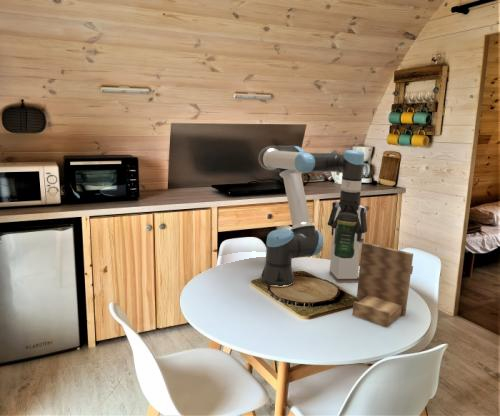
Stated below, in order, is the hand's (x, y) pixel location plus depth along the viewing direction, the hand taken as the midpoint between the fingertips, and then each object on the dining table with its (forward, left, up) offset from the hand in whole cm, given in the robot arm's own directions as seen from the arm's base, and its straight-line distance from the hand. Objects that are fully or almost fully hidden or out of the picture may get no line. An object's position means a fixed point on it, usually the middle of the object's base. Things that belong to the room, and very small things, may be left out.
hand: (345, 246), depth 176 cm
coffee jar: (0, 0, -4) cm, 4 cm away
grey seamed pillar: (-12, +26, -24) cm, 37 cm away
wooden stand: (+14, +1, -24) cm, 28 cm away
